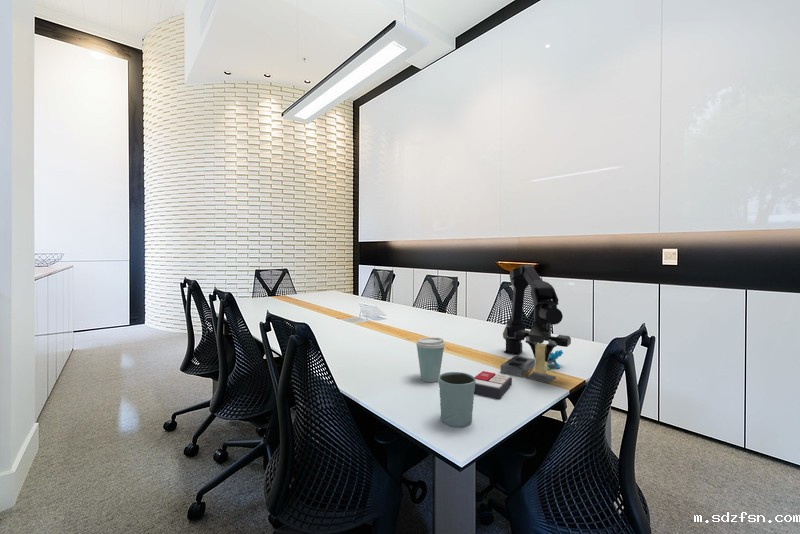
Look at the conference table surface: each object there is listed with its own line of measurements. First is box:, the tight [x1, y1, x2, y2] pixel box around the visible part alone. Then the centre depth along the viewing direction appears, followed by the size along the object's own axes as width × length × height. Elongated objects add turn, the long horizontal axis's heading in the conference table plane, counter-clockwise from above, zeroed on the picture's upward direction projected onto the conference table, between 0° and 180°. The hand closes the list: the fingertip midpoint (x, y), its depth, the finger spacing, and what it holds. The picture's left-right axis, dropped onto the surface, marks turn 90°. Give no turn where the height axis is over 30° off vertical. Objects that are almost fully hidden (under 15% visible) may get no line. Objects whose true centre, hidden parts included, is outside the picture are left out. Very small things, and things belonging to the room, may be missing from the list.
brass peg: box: [534, 343, 548, 374], centre depth 131 cm, size 3×3×10 cm
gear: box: [547, 349, 564, 371], centre depth 143 cm, size 11×6×10 cm
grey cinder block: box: [500, 355, 535, 378], centre depth 141 cm, size 8×16×3 cm, turn 142°
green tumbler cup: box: [438, 371, 476, 429], centre depth 99 cm, size 10×10×12 cm
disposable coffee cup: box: [416, 336, 446, 383], centre depth 130 cm, size 11×11×15 cm
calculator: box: [473, 370, 513, 400], centre depth 122 cm, size 11×4×15 cm
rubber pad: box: [526, 371, 557, 384], centre depth 132 cm, size 8×8×1 cm
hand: (541, 360), depth 131 cm, fingers closed on brass peg, 3 cm apart
